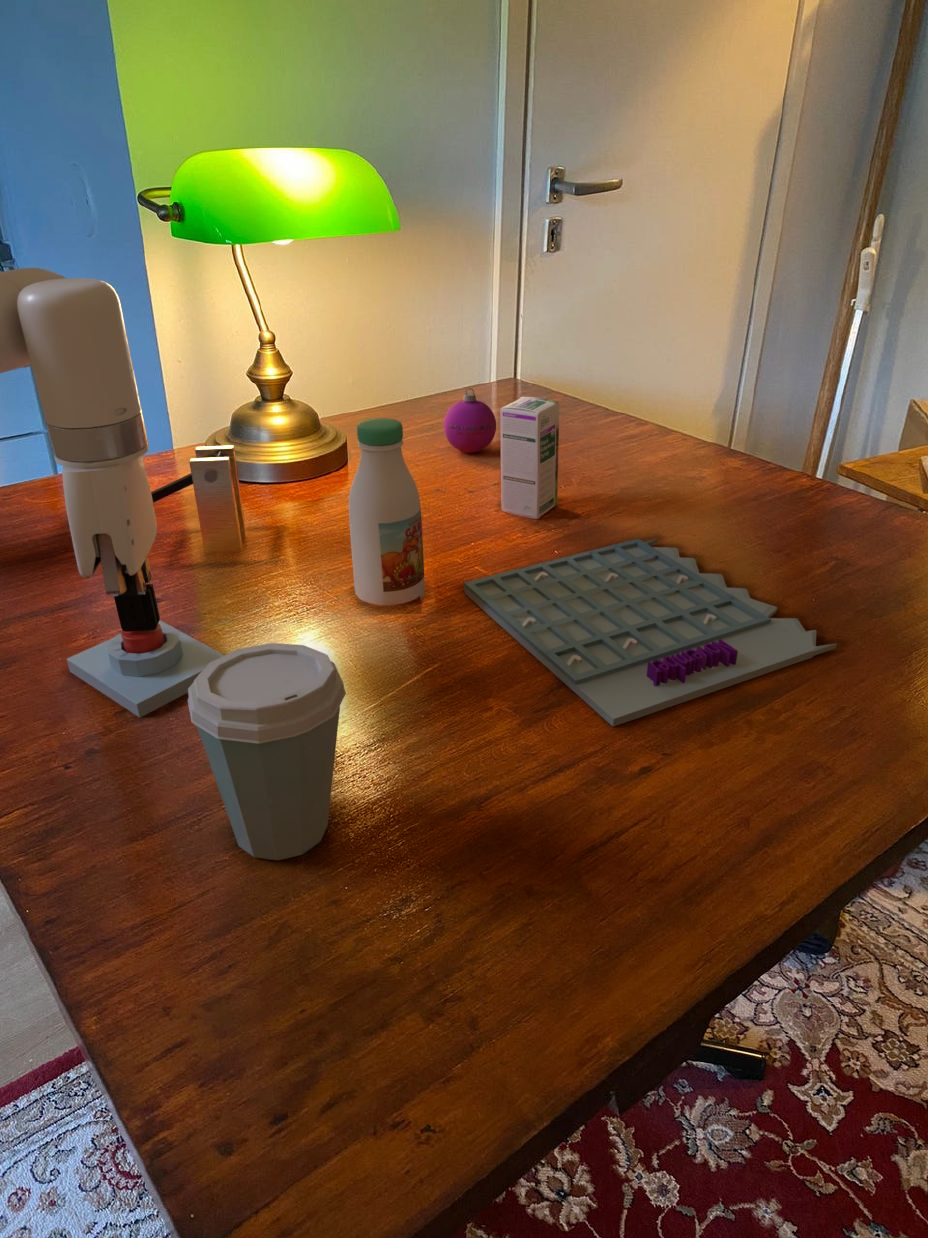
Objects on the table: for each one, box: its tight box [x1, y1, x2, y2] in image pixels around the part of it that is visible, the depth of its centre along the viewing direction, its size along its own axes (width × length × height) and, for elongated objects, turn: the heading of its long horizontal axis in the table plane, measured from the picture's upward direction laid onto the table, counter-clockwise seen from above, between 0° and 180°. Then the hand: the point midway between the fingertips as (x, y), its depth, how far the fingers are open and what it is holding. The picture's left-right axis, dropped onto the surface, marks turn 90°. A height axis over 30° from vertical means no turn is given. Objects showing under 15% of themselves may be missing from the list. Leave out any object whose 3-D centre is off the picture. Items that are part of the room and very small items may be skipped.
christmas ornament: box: [443, 387, 497, 454], centre depth 141 cm, size 8×8×10 cm
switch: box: [151, 451, 224, 504], centre depth 107 cm, size 12×5×2 cm, turn 95°
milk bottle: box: [348, 417, 425, 606], centre depth 96 cm, size 8×8×20 cm
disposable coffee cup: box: [187, 642, 347, 861], centre depth 65 cm, size 11×11×15 cm
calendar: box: [463, 537, 838, 727], centre depth 96 cm, size 27×29×2 cm
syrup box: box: [499, 395, 560, 520], centre depth 119 cm, size 6×6×14 cm
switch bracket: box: [188, 445, 247, 554], centre depth 109 cm, size 12×10×13 cm
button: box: [120, 623, 164, 654], centre depth 86 cm, size 4×4×2 cm
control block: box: [66, 619, 225, 718], centre depth 87 cm, size 12×10×4 cm
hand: (141, 626), depth 85 cm, fingers closed
